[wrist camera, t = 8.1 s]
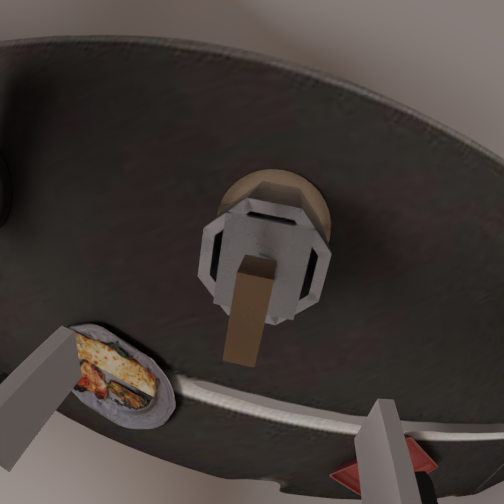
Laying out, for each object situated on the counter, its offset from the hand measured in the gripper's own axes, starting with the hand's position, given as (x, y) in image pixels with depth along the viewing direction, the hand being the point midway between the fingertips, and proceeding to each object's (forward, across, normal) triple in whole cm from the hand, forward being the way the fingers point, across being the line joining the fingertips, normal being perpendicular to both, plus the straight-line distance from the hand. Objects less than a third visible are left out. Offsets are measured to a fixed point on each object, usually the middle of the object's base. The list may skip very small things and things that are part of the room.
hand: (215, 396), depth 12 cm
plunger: (+25, +1, 0) cm, 25 cm away
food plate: (+30, -22, -33) cm, 50 cm away
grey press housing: (+29, +1, 0) cm, 29 cm away
